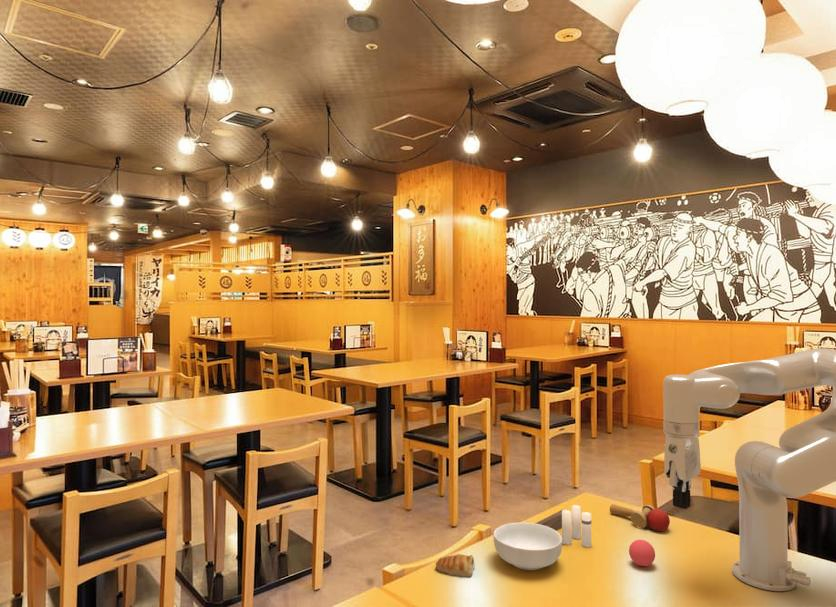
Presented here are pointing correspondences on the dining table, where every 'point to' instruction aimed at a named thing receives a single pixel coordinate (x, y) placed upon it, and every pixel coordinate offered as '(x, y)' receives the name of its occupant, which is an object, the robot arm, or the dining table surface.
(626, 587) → the dining table surface
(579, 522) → the pin
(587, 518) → the front pin
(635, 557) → the ball
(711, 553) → the dining table surface
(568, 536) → the pin
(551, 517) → the wall
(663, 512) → the kendama
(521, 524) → the cereal bowl
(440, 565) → the pastry
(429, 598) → the dining table surface
